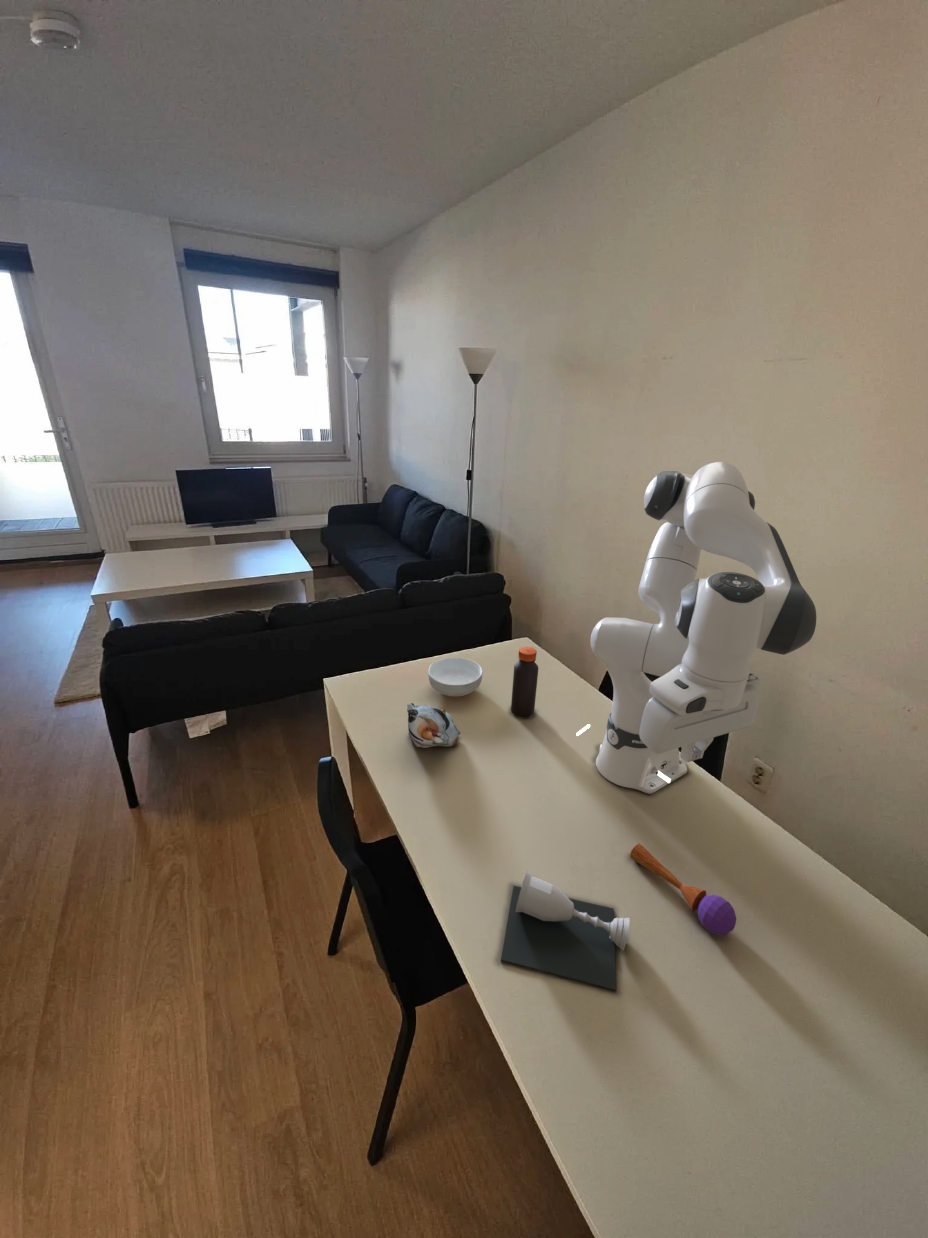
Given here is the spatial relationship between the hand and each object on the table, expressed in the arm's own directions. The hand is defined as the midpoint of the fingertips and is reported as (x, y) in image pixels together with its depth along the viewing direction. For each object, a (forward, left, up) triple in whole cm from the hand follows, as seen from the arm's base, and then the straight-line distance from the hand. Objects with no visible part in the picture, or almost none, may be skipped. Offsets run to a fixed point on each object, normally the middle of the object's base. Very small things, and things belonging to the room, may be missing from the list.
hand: (690, 758), depth 80 cm
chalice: (+11, +5, -30) cm, 32 cm away
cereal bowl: (+8, -80, -32) cm, 86 cm away
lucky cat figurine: (+23, -58, -32) cm, 70 cm away
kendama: (-4, +1, -32) cm, 32 cm away
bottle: (-6, -62, -32) cm, 70 cm away
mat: (+20, -1, -32) cm, 38 cm away
